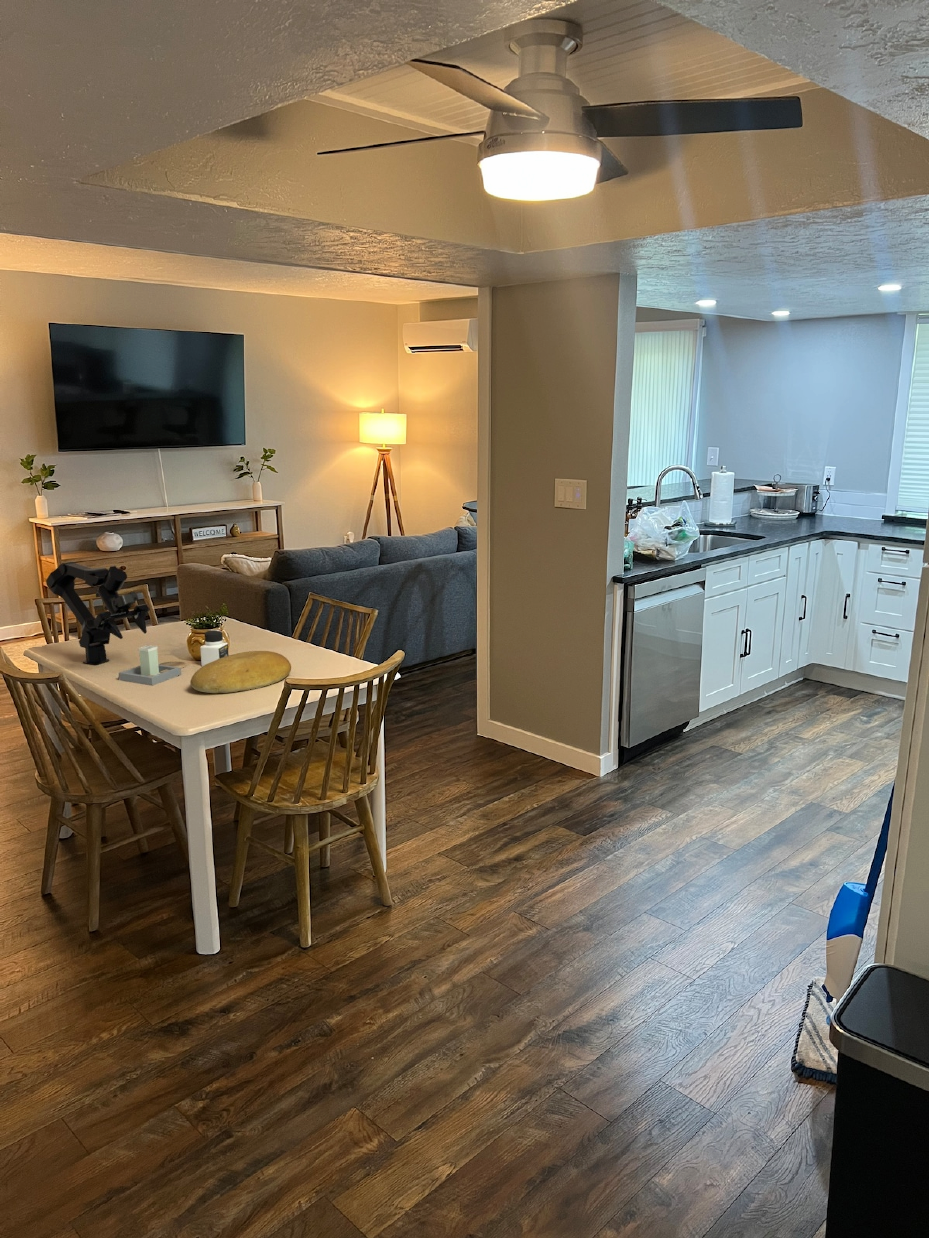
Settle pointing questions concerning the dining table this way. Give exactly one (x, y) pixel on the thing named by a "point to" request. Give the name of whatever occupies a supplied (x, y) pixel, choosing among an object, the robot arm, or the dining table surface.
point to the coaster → (174, 664)
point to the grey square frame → (134, 676)
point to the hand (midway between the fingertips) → (134, 635)
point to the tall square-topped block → (149, 660)
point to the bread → (241, 672)
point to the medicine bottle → (213, 647)
